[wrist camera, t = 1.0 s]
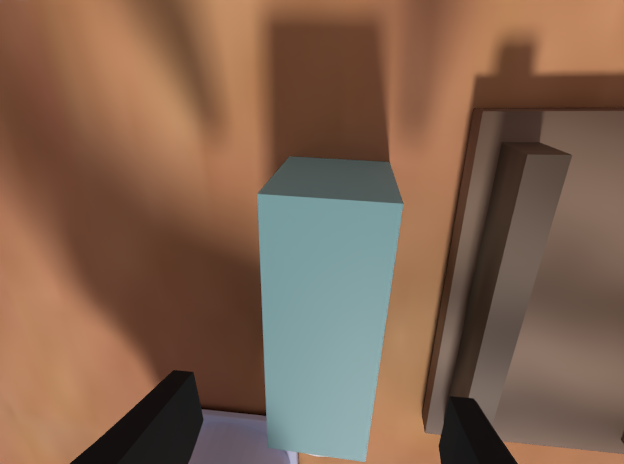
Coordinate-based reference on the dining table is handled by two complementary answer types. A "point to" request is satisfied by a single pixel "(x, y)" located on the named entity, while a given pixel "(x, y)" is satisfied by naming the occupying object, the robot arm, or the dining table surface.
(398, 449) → the dining table surface
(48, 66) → the dining table surface
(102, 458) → the robot arm
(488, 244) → the cradle
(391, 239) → the tall teal pillar block
